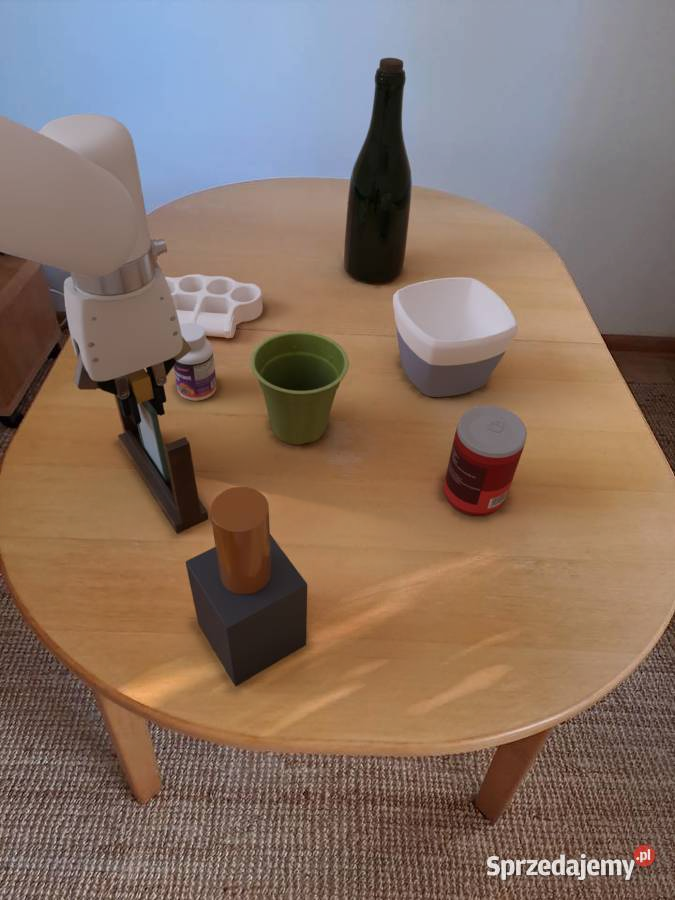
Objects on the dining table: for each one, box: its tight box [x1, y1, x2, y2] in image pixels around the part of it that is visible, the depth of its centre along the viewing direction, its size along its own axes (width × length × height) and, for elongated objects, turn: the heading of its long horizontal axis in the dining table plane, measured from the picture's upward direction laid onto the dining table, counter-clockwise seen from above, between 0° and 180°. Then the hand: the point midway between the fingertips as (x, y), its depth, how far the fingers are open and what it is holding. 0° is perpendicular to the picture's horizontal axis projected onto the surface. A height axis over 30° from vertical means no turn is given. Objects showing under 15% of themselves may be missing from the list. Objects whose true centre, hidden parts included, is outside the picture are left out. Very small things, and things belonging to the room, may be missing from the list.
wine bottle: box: [343, 57, 413, 285], centre depth 105 cm, size 10×10×33 cm
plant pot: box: [249, 330, 350, 446], centre depth 85 cm, size 12×12×11 cm
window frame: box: [113, 394, 210, 535], centre depth 77 cm, size 4×17×13 cm, turn 34°
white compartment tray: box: [164, 273, 264, 339], centre depth 105 cm, size 3×18×15 cm
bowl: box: [392, 276, 519, 398], centre depth 94 cm, size 15×15×11 cm
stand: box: [185, 533, 308, 687], centre depth 64 cm, size 8×8×11 cm
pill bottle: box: [173, 323, 218, 402], centre depth 90 cm, size 5×5×10 cm
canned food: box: [443, 404, 528, 517], centre depth 78 cm, size 8×8×11 cm
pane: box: [126, 368, 171, 483], centre depth 76 cm, size 2×7×14 cm, turn 34°
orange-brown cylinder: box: [209, 486, 272, 595], centre depth 56 cm, size 5×5×9 cm
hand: (144, 411), depth 75 cm, fingers closed on pane, 2 cm apart
